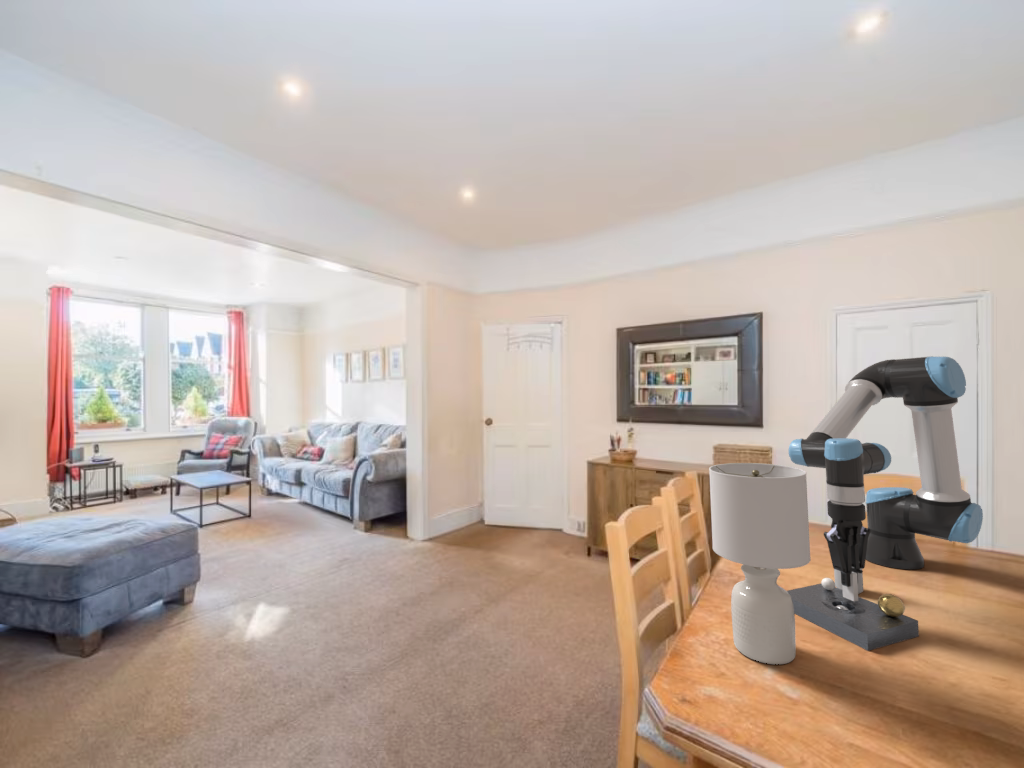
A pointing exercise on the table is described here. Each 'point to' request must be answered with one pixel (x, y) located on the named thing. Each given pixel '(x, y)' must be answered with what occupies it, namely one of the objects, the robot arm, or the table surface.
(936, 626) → the table surface
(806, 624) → the table surface
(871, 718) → the table surface
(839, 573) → the beverage can
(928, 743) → the table surface
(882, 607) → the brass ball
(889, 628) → the plate
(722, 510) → the lamp
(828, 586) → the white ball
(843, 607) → the steel ball
